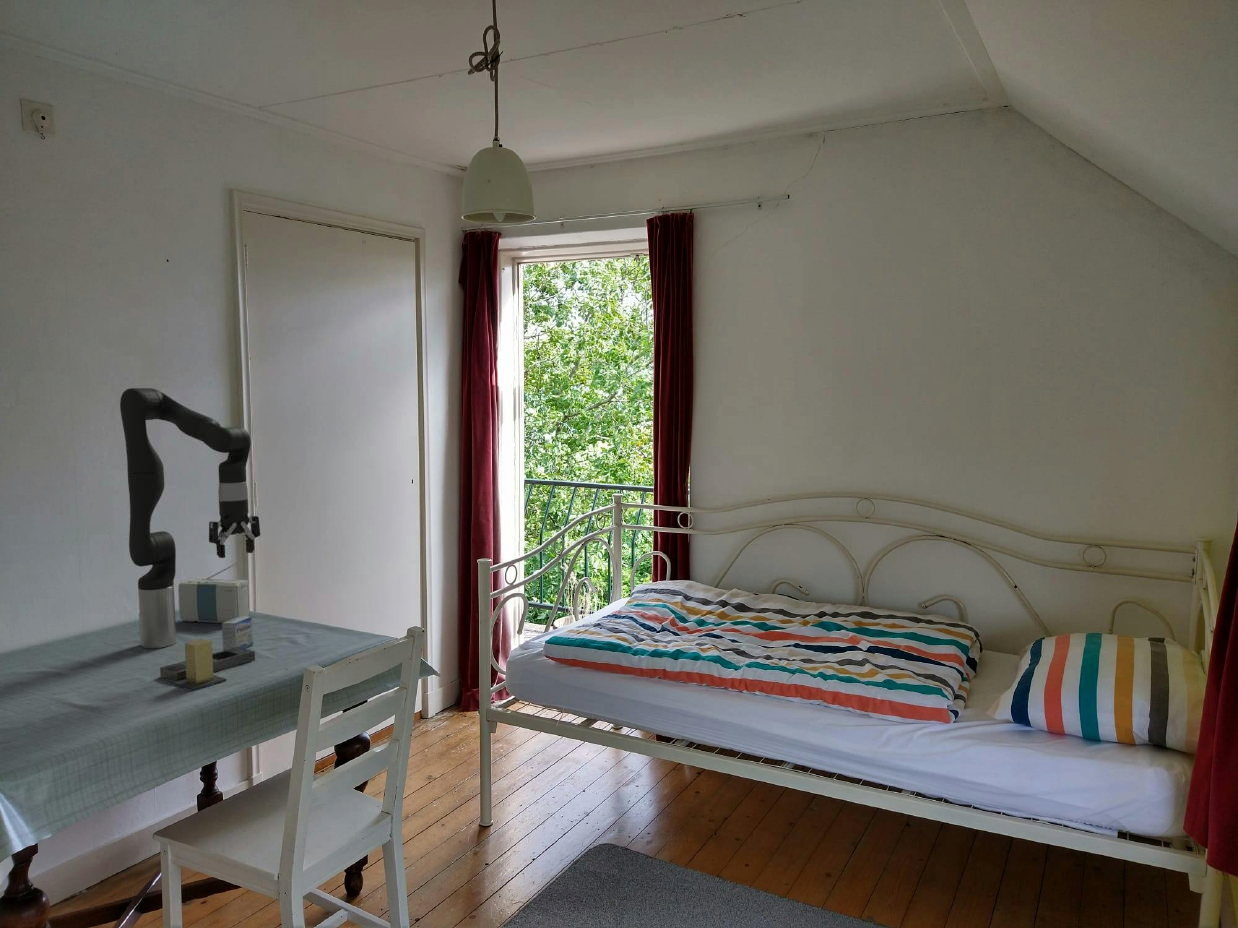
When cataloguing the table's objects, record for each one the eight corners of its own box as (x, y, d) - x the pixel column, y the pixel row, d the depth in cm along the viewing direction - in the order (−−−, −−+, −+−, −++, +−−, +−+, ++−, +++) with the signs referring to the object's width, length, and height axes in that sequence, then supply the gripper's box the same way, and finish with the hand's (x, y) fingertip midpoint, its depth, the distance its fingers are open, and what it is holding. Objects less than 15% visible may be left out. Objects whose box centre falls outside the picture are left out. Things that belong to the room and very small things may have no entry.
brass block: (186, 681, 220) (184, 642, 219) (203, 676, 224) (201, 638, 223) (196, 684, 218) (194, 645, 217) (213, 679, 222) (211, 641, 221)
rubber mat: (172, 684, 220) (172, 682, 220) (206, 674, 227) (206, 672, 227) (192, 690, 215) (192, 688, 215) (226, 680, 222) (226, 678, 222)
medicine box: (236, 653, 246) (235, 623, 245) (222, 652, 247) (221, 622, 246) (253, 645, 254) (252, 616, 253) (240, 644, 255) (238, 615, 254)
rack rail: (160, 676, 226) (160, 667, 225) (237, 655, 244) (237, 646, 244) (177, 682, 221) (177, 672, 221) (255, 660, 239) (254, 650, 239)
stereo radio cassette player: (178, 623, 280) (175, 561, 278) (195, 616, 288) (192, 557, 286) (236, 625, 276) (234, 563, 274) (252, 619, 284) (249, 558, 282)
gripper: (248, 494, 251) (250, 550, 252) (201, 500, 239) (204, 557, 240) (264, 496, 247) (266, 552, 248) (217, 501, 235) (220, 560, 236)
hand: (235, 555), depth 244 cm, fingers open, 8 cm apart
